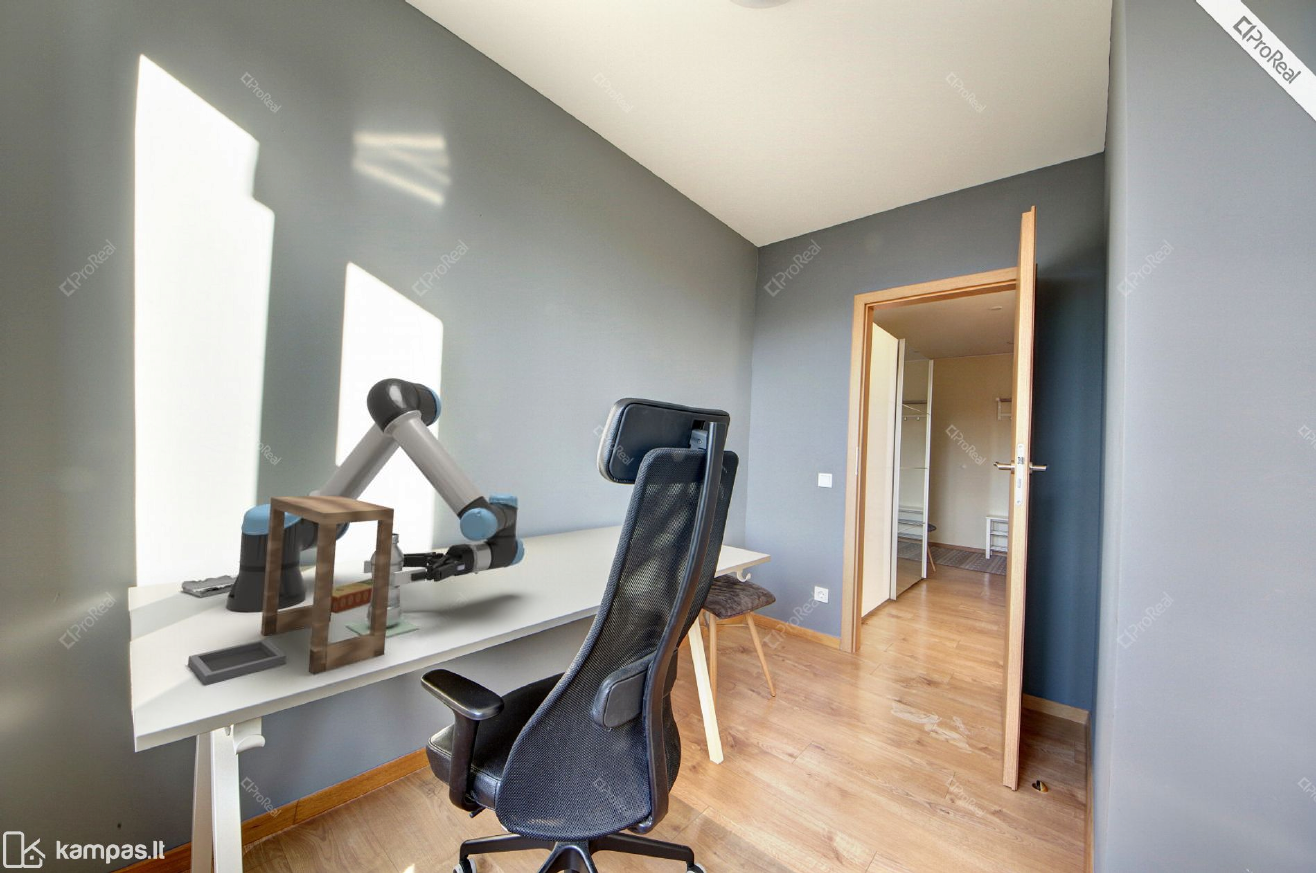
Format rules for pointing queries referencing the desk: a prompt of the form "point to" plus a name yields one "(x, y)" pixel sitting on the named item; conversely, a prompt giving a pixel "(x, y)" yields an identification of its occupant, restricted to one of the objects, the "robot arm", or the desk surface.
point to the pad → (391, 631)
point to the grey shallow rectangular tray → (235, 661)
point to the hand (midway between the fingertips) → (378, 572)
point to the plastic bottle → (390, 584)
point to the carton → (351, 596)
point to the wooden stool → (328, 578)
